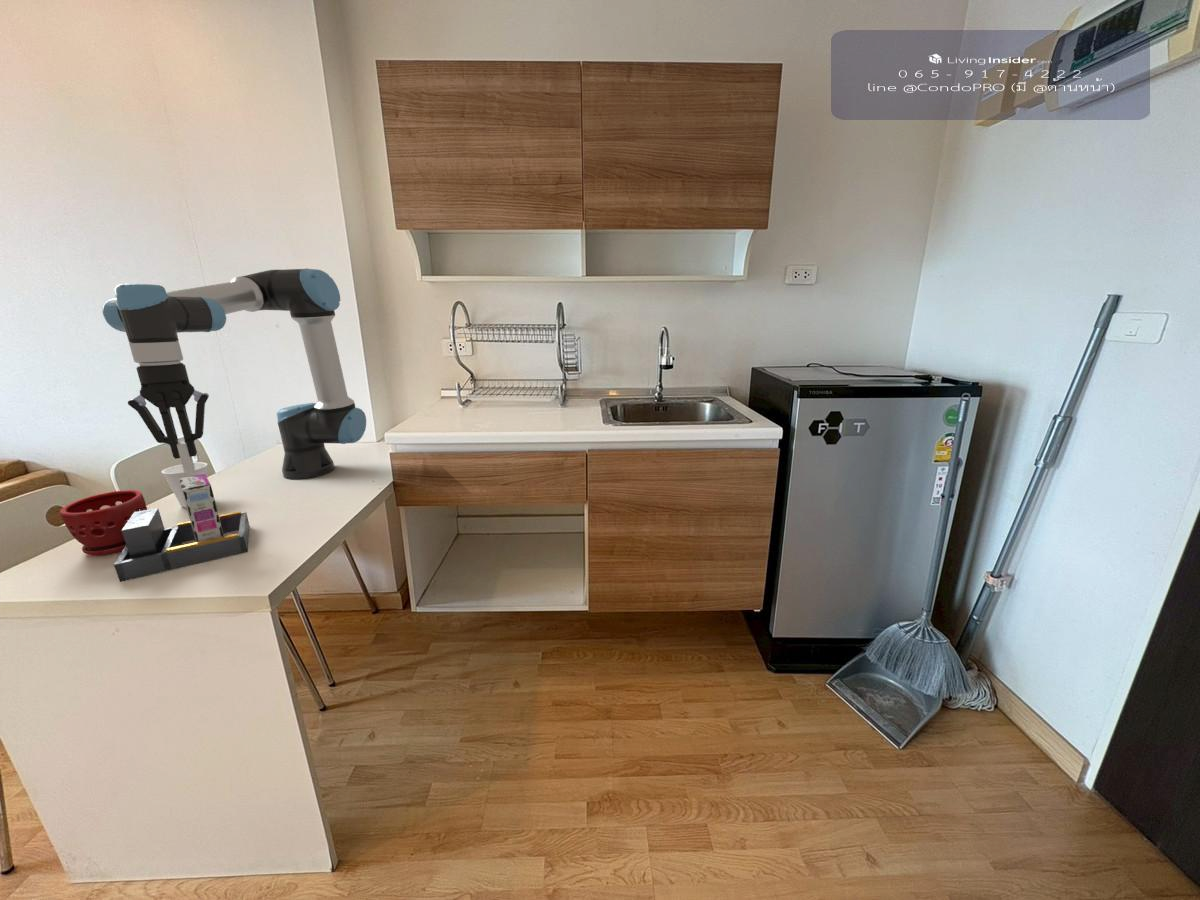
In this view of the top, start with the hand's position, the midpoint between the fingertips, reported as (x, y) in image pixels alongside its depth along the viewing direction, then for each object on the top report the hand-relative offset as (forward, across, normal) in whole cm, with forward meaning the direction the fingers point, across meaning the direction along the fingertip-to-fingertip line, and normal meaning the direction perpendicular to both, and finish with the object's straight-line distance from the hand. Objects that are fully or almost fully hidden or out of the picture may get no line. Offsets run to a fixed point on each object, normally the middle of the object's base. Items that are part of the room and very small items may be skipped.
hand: (189, 471), depth 102 cm
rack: (+19, +3, 0) cm, 19 cm away
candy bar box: (+19, 0, 0) cm, 19 cm away
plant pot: (+19, +18, -13) cm, 29 cm away
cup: (+19, +6, -36) cm, 41 cm away
